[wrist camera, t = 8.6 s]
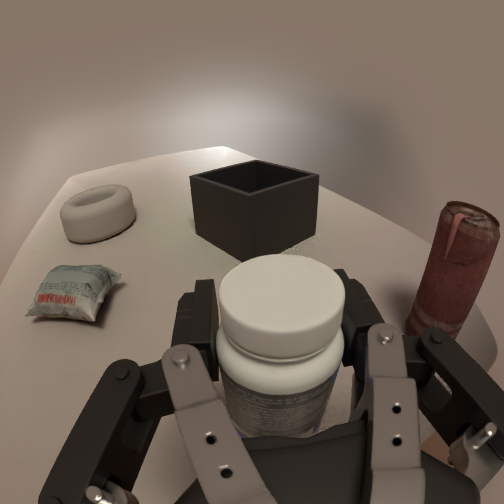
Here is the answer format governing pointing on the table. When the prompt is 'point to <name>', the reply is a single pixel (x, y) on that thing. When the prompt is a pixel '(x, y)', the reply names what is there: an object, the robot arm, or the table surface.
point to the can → (454, 268)
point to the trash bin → (255, 207)
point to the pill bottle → (279, 343)
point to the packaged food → (73, 292)
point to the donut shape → (97, 213)
